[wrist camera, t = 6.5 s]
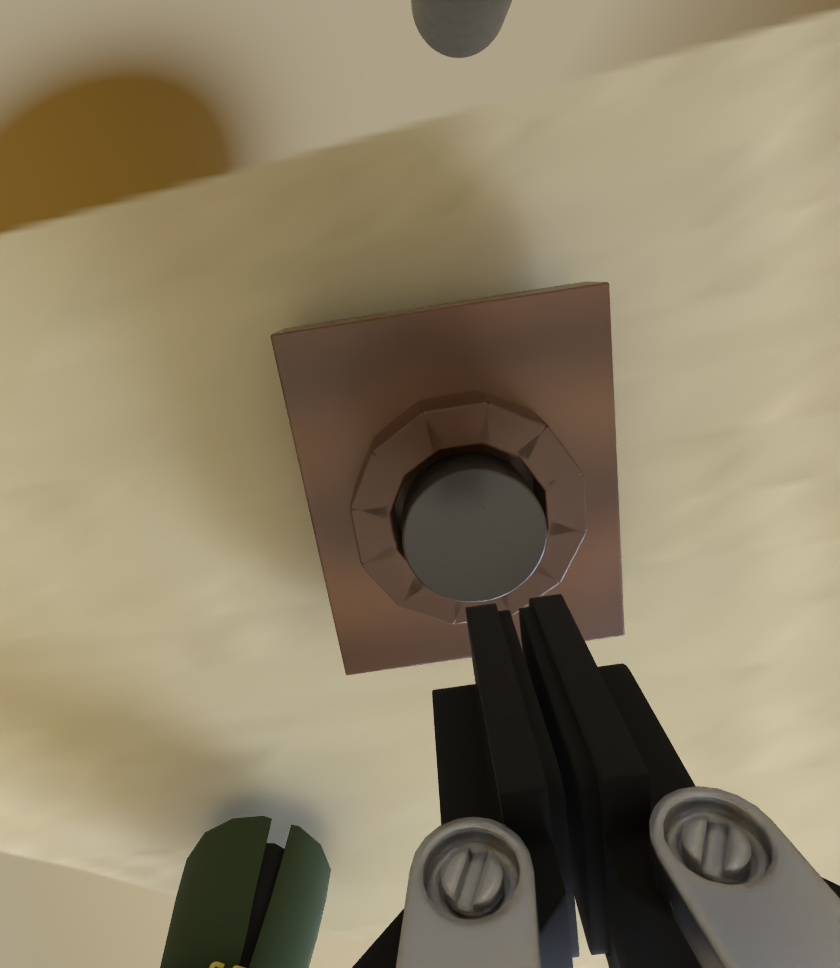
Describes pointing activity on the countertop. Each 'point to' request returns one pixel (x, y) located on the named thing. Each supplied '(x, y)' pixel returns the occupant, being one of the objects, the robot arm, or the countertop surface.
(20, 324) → the countertop surface
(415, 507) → the button
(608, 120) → the countertop surface
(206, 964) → the character mug
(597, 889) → the robot arm
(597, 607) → the button box
